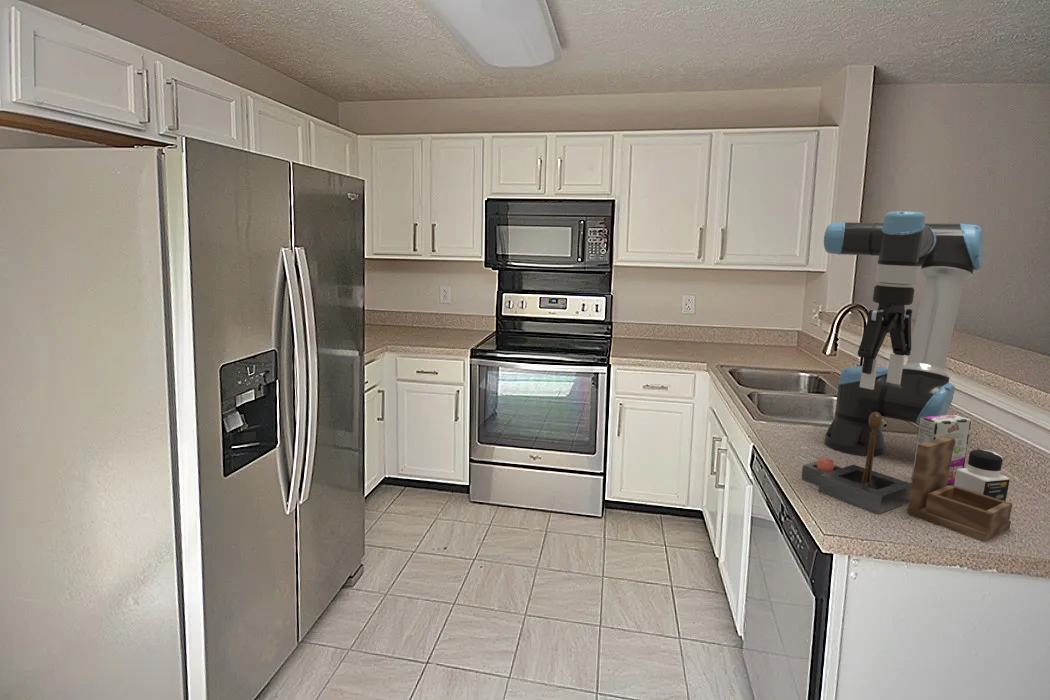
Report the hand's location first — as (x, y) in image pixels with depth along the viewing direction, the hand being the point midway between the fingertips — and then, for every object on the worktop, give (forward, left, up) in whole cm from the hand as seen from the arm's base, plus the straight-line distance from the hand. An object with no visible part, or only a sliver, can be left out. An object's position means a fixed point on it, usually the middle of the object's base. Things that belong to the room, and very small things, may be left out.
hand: (880, 385), depth 139 cm
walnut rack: (-5, +17, -26) cm, 31 cm away
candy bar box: (-25, +4, -26) cm, 36 cm away
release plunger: (0, -10, -26) cm, 28 cm away
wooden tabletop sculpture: (0, 0, -26) cm, 26 cm away
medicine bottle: (-20, +15, -26) cm, 36 cm away
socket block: (0, -3, -26) cm, 26 cm away
